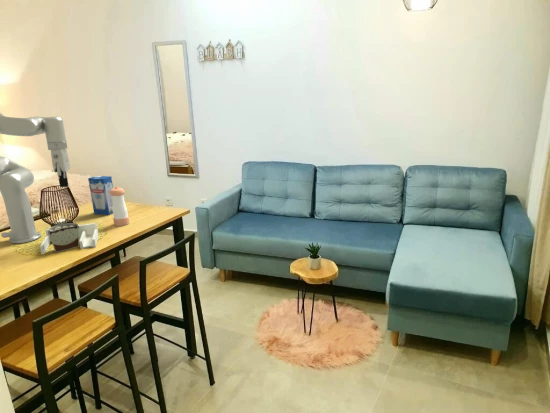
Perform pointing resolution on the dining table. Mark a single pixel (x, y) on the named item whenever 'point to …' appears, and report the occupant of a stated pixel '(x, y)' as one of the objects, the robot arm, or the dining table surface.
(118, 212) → the pepper shaker
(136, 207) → the dining table surface
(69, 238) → the food container
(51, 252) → the dining table surface
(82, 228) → the rack
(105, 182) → the milk carton
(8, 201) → the robot arm
